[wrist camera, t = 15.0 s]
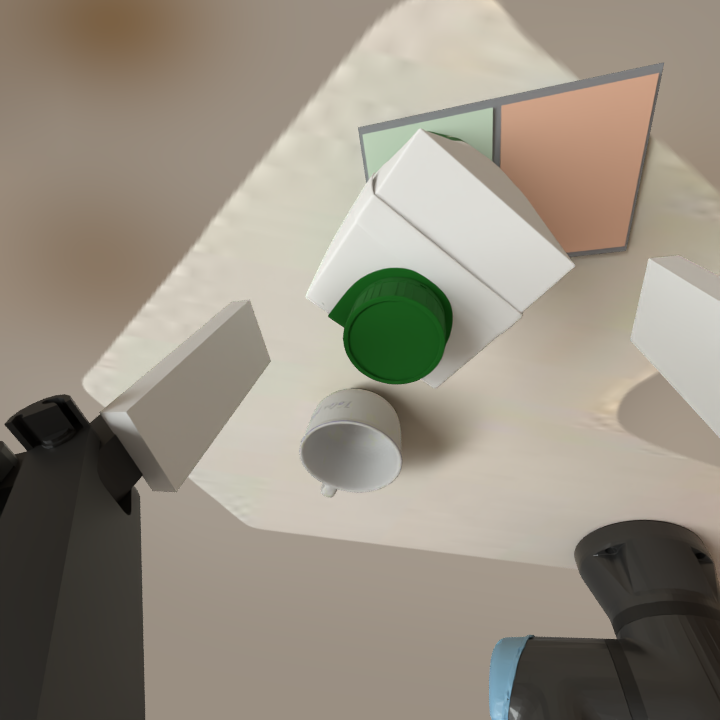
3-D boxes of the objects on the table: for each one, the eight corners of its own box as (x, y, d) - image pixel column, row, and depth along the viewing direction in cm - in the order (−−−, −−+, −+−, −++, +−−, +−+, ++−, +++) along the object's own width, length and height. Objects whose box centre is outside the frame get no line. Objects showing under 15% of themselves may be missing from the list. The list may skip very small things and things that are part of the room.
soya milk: (357, 213, 31) (268, 319, 14) (428, 107, 26) (416, 85, 10) (436, 276, 33) (437, 434, 16) (516, 187, 28) (633, 283, 11)
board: (621, 248, 30) (627, 251, 29) (381, 275, 35) (380, 279, 34) (657, 64, 24) (666, 61, 23) (359, 127, 28) (357, 127, 28)
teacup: (348, 359, 41) (331, 405, 34) (425, 409, 43) (423, 462, 36) (292, 427, 48) (270, 476, 42) (360, 467, 50) (349, 520, 44)
